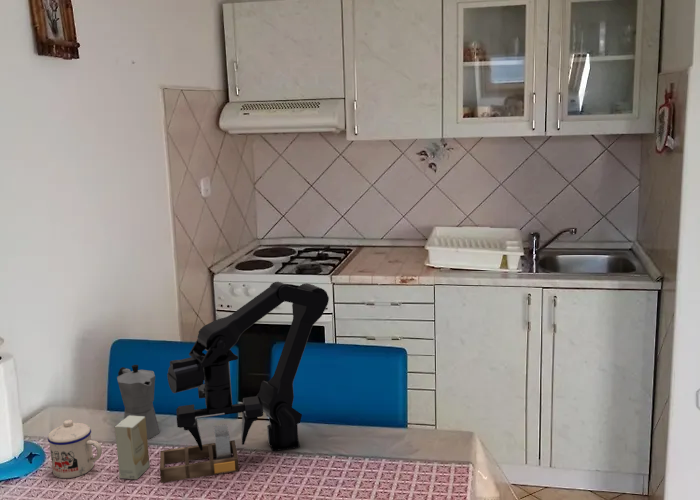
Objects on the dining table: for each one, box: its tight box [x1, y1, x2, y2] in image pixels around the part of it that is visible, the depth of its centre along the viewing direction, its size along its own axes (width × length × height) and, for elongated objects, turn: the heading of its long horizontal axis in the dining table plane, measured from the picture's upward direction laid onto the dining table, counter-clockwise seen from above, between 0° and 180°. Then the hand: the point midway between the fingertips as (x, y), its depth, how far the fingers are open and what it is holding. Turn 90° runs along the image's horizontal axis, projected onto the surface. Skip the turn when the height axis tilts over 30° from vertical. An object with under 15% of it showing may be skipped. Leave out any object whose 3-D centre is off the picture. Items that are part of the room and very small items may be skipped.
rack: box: [159, 439, 240, 484], centre depth 156 cm, size 17×10×3 cm, turn 104°
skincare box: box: [114, 415, 151, 480], centre depth 154 cm, size 6×4×12 cm
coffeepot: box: [116, 364, 161, 440], centre depth 173 cm, size 15×9×18 cm, turn 44°
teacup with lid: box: [47, 419, 103, 479], centre depth 156 cm, size 12×9×12 cm
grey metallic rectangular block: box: [213, 423, 232, 460], centre depth 157 cm, size 3×6×8 cm, turn 14°
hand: (222, 446), depth 157 cm, fingers open, 9 cm apart
